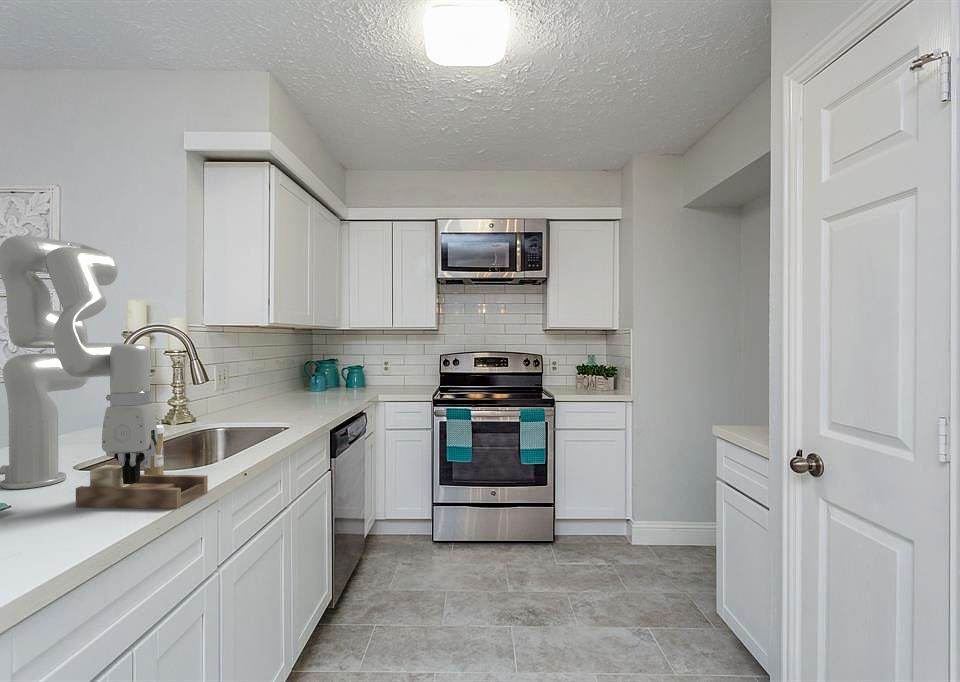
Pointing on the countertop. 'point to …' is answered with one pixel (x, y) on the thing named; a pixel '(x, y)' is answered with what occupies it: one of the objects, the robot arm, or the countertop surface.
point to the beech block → (107, 476)
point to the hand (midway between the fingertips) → (131, 482)
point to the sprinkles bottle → (156, 456)
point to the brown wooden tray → (146, 492)
